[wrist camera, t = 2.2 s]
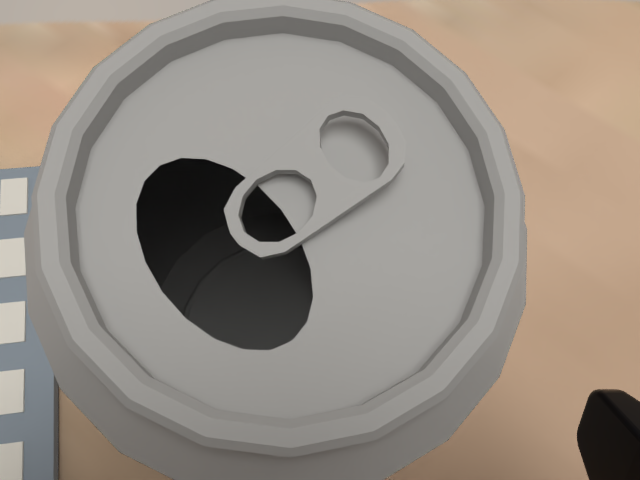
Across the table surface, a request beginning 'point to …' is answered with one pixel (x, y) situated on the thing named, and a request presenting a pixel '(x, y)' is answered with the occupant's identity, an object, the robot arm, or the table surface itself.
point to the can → (276, 244)
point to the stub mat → (22, 349)
